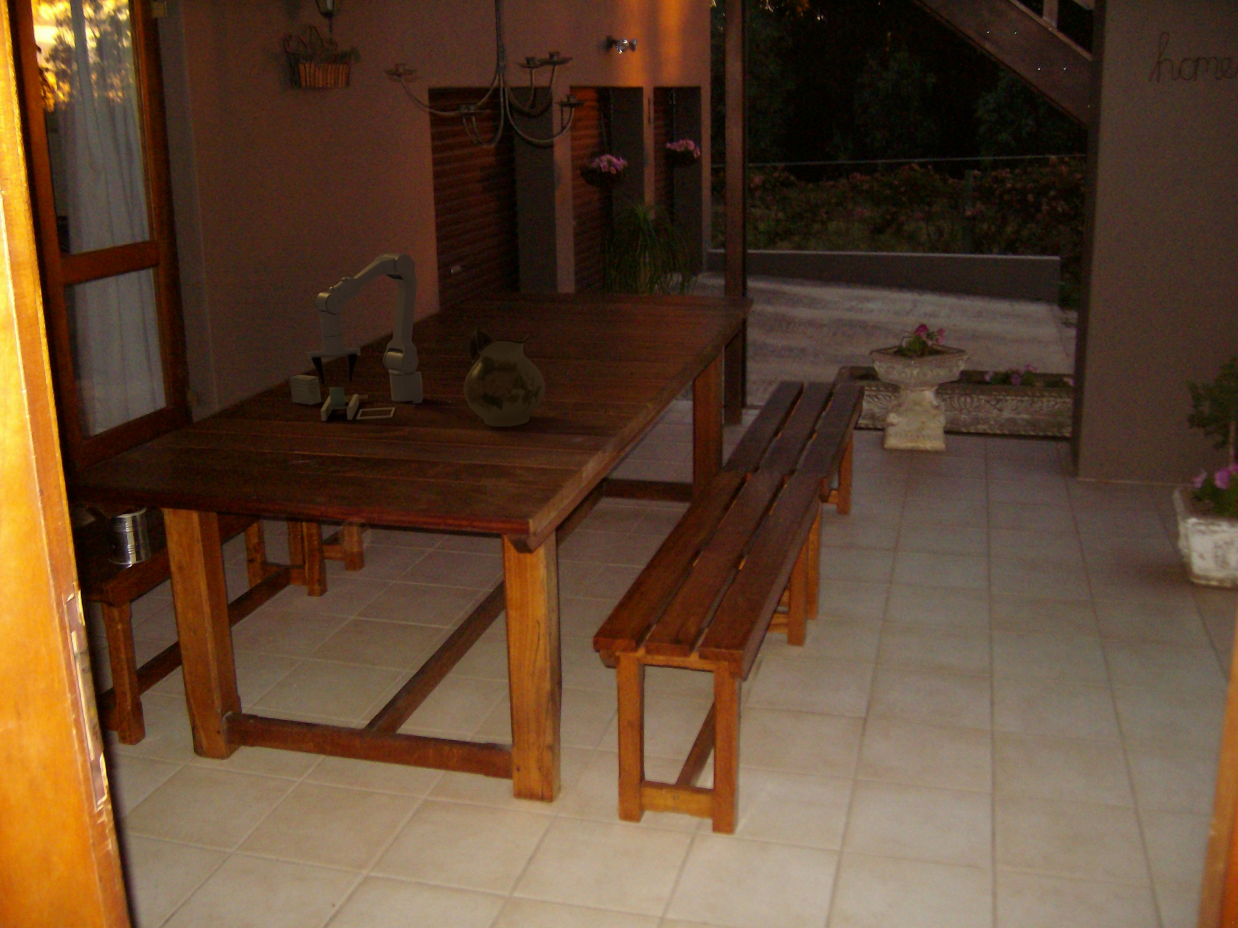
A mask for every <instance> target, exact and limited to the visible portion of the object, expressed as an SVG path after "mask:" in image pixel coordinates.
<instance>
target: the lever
mask: <svg viewBox="0 0 1238 928" xmlns="http://www.w3.org/2000/svg"><path fill="white" fill-rule="evenodd" d="M353 395H354V394H351V395H344V397H345V403H348V402H349V403H350V400H351V399H352V397H353ZM358 398H359V400H360V399H368V398H369V395H368V394H358ZM347 407H348V405H345V406H339V407H327V409H332V410H345V409H346V410H347Z"/></svg>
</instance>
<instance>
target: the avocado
mask: <svg viewBox="0 0 1238 928" xmlns="http://www.w3.org/2000/svg"><path fill="white" fill-rule="evenodd" d="M329 396H330V404H331V407H339V406H346V402H345V397H344V396H345V386H336V387H335V386H334V387H329Z"/></svg>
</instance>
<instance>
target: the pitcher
mask: <svg viewBox="0 0 1238 928" xmlns="http://www.w3.org/2000/svg"><path fill="white" fill-rule="evenodd" d="M530 337H531V333H528V334H527V335H526V336H525V338H523V340H522V341H518V340H512V339H504V338H499V339H495V340H494V339H493V338H492V337H491V336H490V335H489V334H488V333H486V332H484V331H482V330H480V329H476V330H474V332H473V333H472V334H471V336H470V339H469V348H468V349H469V353H470V358H471V361H472V362H471V364H470V370H469V372H468V373H467V375H466V377H465V380H464V382H463V394H464V398H465V400H466V402H467V405H468V406H469V407H470V408H471V410H472V411H473V412H474V413H475V414H476V415H477V416H479V417H480V418H481V419H482V420H483V422H484V424H486V426H488V427H493V428H512V427H518V426H522V425H525V424H527V423H529V421H530V417H531V415H532V414H533V413H534V412H535V411H536V409H537V408H538V407H539V406H540V404H541V402H542V400H543V398H544V396H545V391H546V383H545V378H544V377H543V374H542V373H541V371H540V370H539V369H538V367H537V366H536V365H535V364H534V363H532V361H531V360H530V359H529V358H528V357H526V355H525V354H524V345H525V344H526V343H527V342H528V340H529V339H530Z"/></svg>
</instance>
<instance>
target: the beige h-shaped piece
mask: <svg viewBox="0 0 1238 928" xmlns="http://www.w3.org/2000/svg"><path fill="white" fill-rule="evenodd" d="M352 395H353V397H352V399H350V400H349V404H348V405H347V406H348V407H347V409H346V416H347V421H348V420H353V418H354V417H355V416H354V415H355V414H356V411H357V409H358V407H359V405H360V399H359V398H358V395H359V393H356V394H352ZM327 407H331V404H330V395H328V397H327V399H326V401H325V402H324V404H323V406H322V407H321V409H320V416H321V418H320V419H321V422H326V421H327V420H328V418H329V416H330V414H331V413H332V411H333V409H327Z"/></svg>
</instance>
